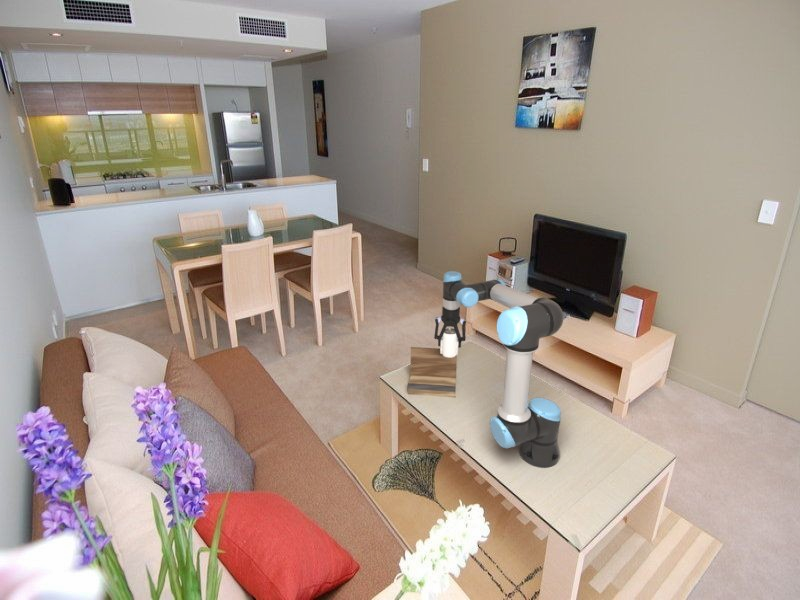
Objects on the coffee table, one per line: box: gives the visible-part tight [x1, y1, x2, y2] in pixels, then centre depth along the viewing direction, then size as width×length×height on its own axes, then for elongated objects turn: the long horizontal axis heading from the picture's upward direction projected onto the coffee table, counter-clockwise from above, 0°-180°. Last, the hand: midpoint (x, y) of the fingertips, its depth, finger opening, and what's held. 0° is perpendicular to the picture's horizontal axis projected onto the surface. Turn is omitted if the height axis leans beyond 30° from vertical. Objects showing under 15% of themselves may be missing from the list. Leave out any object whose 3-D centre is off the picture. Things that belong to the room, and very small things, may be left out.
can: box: [442, 327, 458, 358], centre depth 207 cm, size 6×6×12 cm
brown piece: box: [407, 346, 458, 398], centre depth 218 cm, size 13×22×18 cm, turn 83°
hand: (449, 352), depth 209 cm, fingers closed on can, 6 cm apart
